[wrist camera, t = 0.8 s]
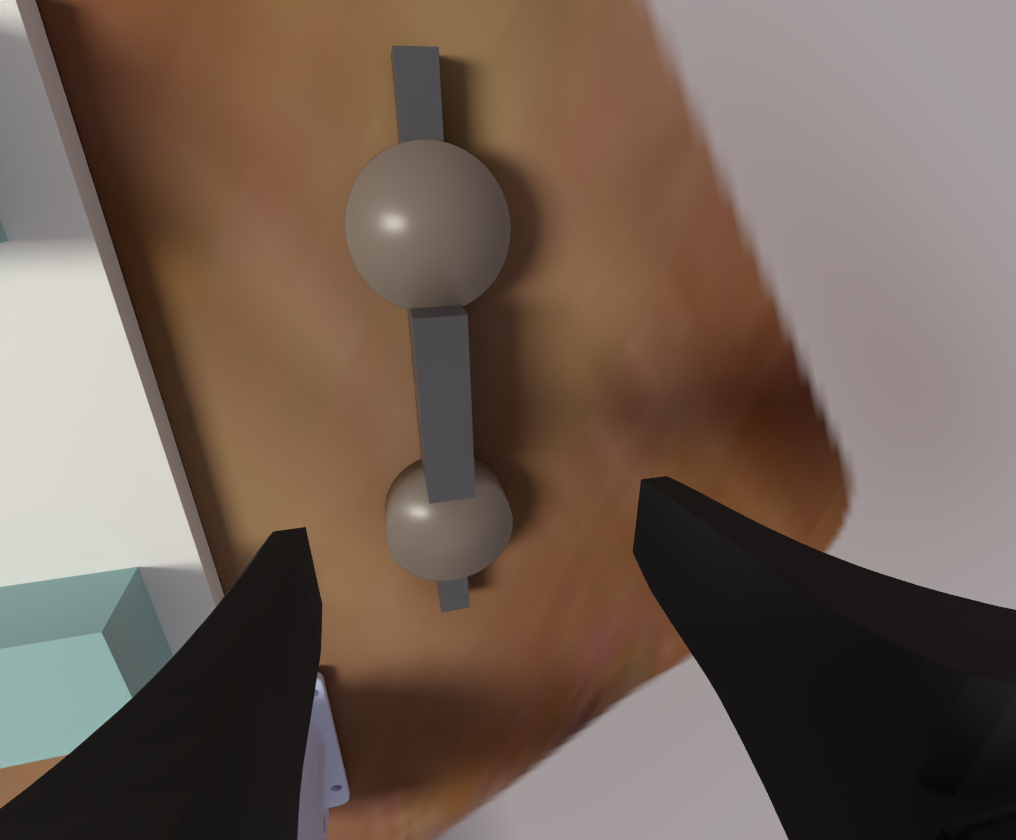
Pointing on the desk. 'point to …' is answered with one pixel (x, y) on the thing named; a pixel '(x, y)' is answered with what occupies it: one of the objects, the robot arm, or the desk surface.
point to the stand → (77, 440)
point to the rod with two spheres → (434, 324)
